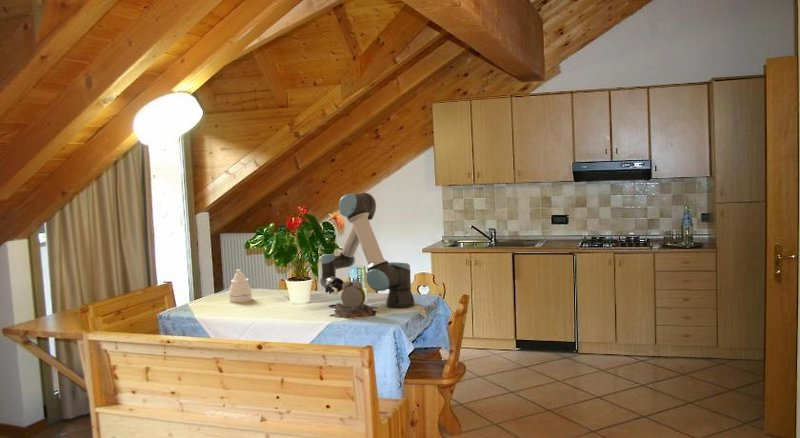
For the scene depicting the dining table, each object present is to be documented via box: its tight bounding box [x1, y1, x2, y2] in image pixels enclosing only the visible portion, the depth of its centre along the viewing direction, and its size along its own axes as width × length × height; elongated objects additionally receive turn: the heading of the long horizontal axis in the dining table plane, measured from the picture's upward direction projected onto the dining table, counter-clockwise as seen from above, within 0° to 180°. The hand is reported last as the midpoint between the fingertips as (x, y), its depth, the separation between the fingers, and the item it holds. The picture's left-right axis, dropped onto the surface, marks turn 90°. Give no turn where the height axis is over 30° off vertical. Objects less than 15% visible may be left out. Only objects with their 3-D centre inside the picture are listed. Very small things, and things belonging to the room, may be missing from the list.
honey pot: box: [228, 269, 253, 303], centre depth 398 cm, size 13×13×18 cm
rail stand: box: [334, 302, 374, 320], centre depth 350 cm, size 14×18×4 cm
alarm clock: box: [340, 281, 366, 312], centre depth 347 cm, size 12×7×15 cm, turn 70°
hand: (349, 290), depth 353 cm, fingers open, 13 cm apart
